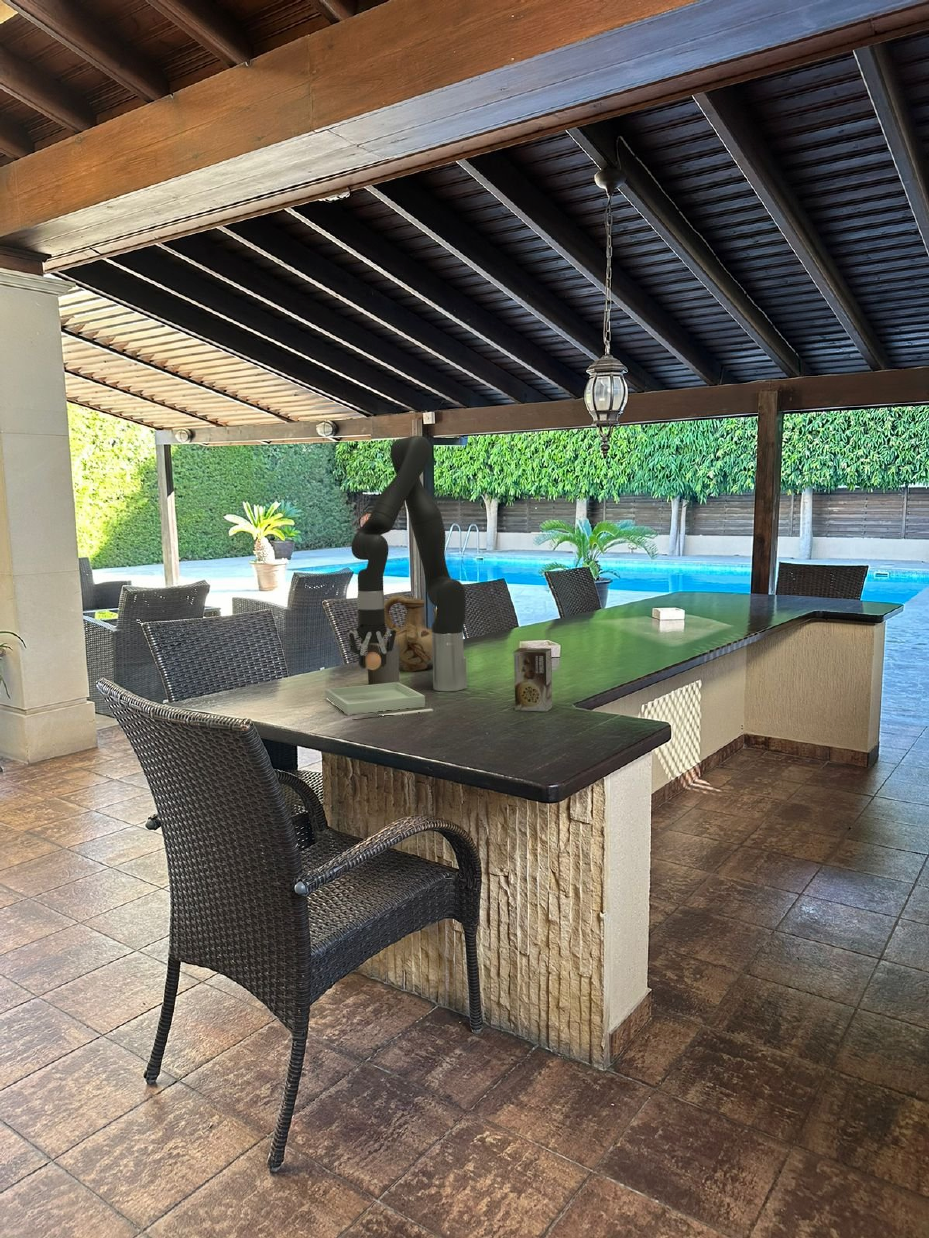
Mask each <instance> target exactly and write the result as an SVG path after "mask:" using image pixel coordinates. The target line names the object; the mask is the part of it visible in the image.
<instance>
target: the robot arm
mask: <svg viewBox="0 0 929 1238" xmlns="http://www.w3.org/2000/svg"><path fill="white" fill-rule="evenodd" d="M432 450H433V449H432V445H431V442H429V440H428V439H427V438H426V437H424V436H422V435H412V436H408V437H403V438H399V439H397V440H395V441H393V442H392V444H391V446H390V452H389V453H390V460H391V464H392V467H393V469H394V472H395V476H394V478H393V479H392V480H391V481H390V482H389V484H388V485H387V486H386V488H385V489H384V490H383V491H382V492H381V494H380V495H379V496H378V498H377V500H376V502H375V503H374V506H373V508H372V510H371V512H370V515H369V517H368V518H367V520H366V521H365V522H363V524H362V526H361V527H360V528H359V529H358V530H357V532H356V533H355V535H354V537H353V539H352V541H351V546H350V547H351V554H352V555H353V556H354V558H356V559H358V560H362V561H367V565H366V568H362V569H361V570H359V571H358V573H357V597H356V598H357V599H356V600H357V607H356V608H357V628H356V630H354V631H348V632H347V633H346V636H347V640H348V644H349V647H350V650H351V653H352V654H356V655H357V656H358V657H357V658H358V666H359V667H360V668H361V669H366V667H365V655H366V654H365V652H366V651H367V650H366V649H367V646H368V644H371V643H376V644H377V646H378V648H379V650H380V653H379V655H380V657H381V665H380V667H384V665H386V653H387V652H389V651H392V650H393V645H394V640H395V635H396V631H395V630H393V629H389V628H388V627H387V625H386V623H385V602H386V600H385V592H384V573H385V570H386V565H387V561H388V557H389V550H390V549H389V544H388V541H387V539H386V538H385V537H384V536H383V535H385V534H388V533H390V532H391V530H392V529H393V527H394V526H395V525H394V524H395V522H397V521H396V520H397V519H398V515H399V513H400V511H401V509H402V507H403V505H404V503H405V505H406V509H407V513H408V516H409V522H410V525H411V529H412V533H413V536H414V539H415V540H414V541H415V543H416V546H417V550H418V553H419V558H420V560H421V565H422V569H423V574H424V579H425V580H424V581H425V586H426V593H427V597H428V600H429V602H430V603H431V604H432V605H433V606H434V607H436V610H437V615H436V620H435V621H433V622H432V624H431V628H432V646H433V659H432V684H433V685H432V686H433V687H432V688H433V690H435V691H438V692H456V691H457V692H458V691H462V690H466V689H467V685H468V683H467V681H468V680H467V657H466V656H464V626H465V625H464V624H465V622H466V608H467V607H466V606H467V605H466V603H467V602H466V599H467V597H466V596H467V595H466V590H465V587H464V585H463V584H462V582H461V581H459V580H457V579H456V578H455V579H454V578H451V575H450V572H449V570H448V565H447V561H446V529H445V525H444V520H443V516H442V513H441V510H440V508H439V507H438V505H437V503H436V501H435V500H434V499H433V498H432V497H431V495H430V494H429V493H428V491H427V490H426V489H425V487H424V485H423V483H422V480H421V478H420V476H421V475H422V474H423V472H424V471H425V469H426V467H427V466H428V464H429V463H430V461H431V458H432V455H433V454H432V453H433V451H432ZM385 635H386V637H387V639H386V640H387V644H386V647H385V646H384V642H383V640H384V636H385ZM357 636H358V637H359V638H360V641H359V644H358V645H359V647H358V646H357V643H356V639H357ZM382 638H383V639H382Z"/></svg>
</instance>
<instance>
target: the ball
mask: <svg viewBox="0 0 929 1238" xmlns="http://www.w3.org/2000/svg"><path fill="white" fill-rule="evenodd" d="M364 655H365V669H366V668H367V670H368V669H370V670H375V669H377V668H378V667H379V666H380V665H381V657H380V655H379V654H378V653H376V652H369V653H366V654H364Z"/></svg>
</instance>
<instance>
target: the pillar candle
mask: <svg viewBox="0 0 929 1238" xmlns="http://www.w3.org/2000/svg"><path fill="white" fill-rule="evenodd" d="M382 639H383V642H384V646H385V647H386V644H387V640H388V639H384V637H383V638H382ZM366 649H367V650H366V651H367V653H369V652H376V653H378V654H379V653H380V650H379V648H378V646H377V644H376V643H371V644H368V646H367V648H366ZM367 653H366V654H367ZM367 680H368V682H367V683H368V684H367V685H373V684H383V683H393V682H399V683H400V661H399V642H397V641H394V645H393V650H392V651H389V652H387V653H386V665H384V667H380V666H379V667H378V668H377V669H375V670H370V669H368V668H367Z"/></svg>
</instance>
